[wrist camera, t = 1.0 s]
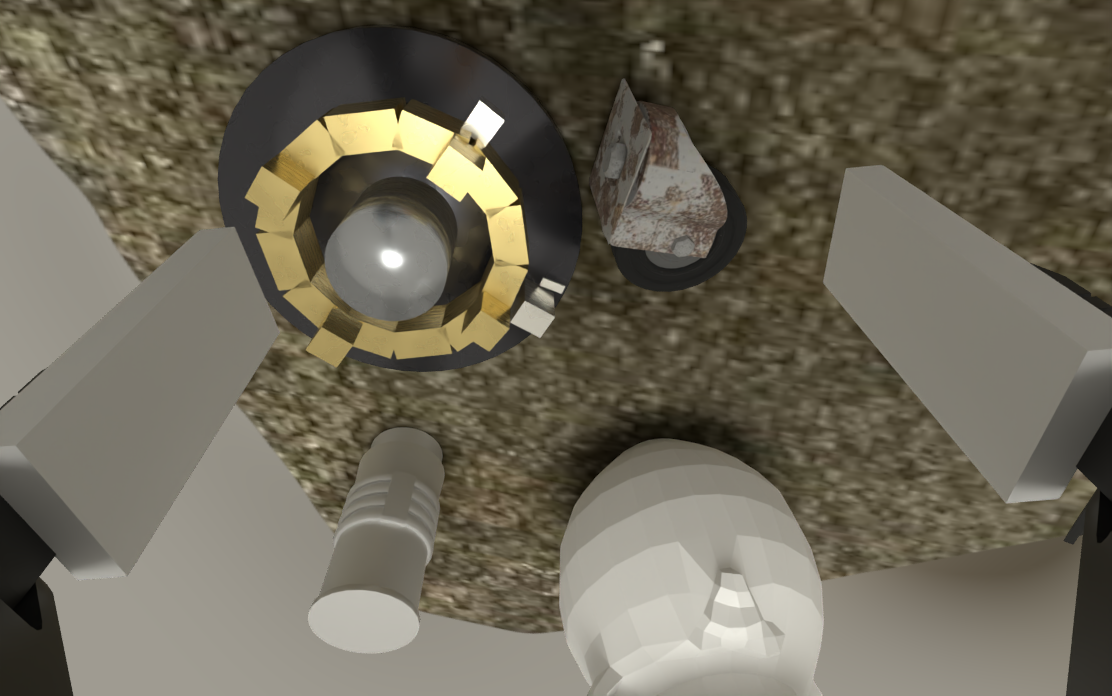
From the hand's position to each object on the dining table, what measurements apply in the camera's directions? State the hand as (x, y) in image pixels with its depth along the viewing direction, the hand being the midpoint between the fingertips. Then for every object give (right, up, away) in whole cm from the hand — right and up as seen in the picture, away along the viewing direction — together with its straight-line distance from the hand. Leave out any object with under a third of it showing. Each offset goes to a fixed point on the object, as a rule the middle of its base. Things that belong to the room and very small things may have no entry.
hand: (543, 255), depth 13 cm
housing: (-9, +6, +25) cm, 27 cm away
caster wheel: (+7, +8, +25) cm, 27 cm away
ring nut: (-9, +5, +23) cm, 26 cm away
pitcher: (+9, -14, +39) cm, 42 cm away
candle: (-12, -11, +36) cm, 40 cm away
